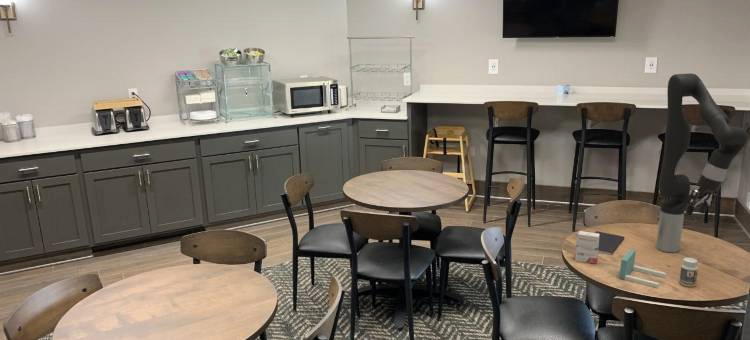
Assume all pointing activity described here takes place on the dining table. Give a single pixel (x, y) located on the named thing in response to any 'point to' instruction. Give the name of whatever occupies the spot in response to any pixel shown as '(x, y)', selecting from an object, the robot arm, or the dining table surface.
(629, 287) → the dining table surface
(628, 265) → the pocket
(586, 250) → the ink box
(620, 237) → the notebook
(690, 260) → the pill bottle
